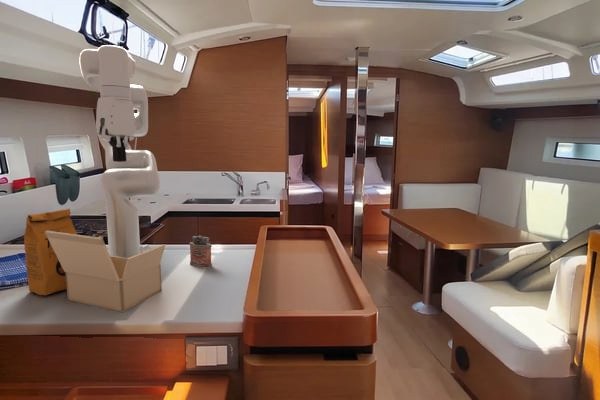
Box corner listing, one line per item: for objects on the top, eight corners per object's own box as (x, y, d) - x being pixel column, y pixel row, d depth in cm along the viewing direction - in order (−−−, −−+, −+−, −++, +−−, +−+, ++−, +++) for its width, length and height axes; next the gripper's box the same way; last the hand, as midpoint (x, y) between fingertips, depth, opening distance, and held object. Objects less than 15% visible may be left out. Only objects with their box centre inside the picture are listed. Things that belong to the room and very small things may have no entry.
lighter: (187, 265, 126) (186, 236, 125) (194, 262, 129) (193, 233, 128) (208, 268, 123) (207, 238, 122) (214, 265, 126) (213, 236, 125)
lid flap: (46, 230, 91) (44, 231, 90) (102, 238, 85) (100, 239, 85) (66, 270, 96) (64, 271, 96) (119, 279, 91) (117, 281, 90)
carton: (104, 280, 112) (101, 235, 109) (168, 292, 104) (166, 243, 102) (61, 299, 99) (56, 248, 96) (130, 313, 91) (127, 259, 89)
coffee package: (90, 285, 108) (84, 209, 104) (42, 300, 98) (33, 217, 94) (72, 278, 113) (66, 205, 110) (24, 291, 103) (16, 212, 99)
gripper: (125, 97, 112) (129, 159, 115) (81, 91, 98) (87, 162, 101) (146, 96, 110) (149, 160, 113) (104, 90, 96) (108, 163, 99)
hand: (119, 161), depth 107 cm, fingers closed
